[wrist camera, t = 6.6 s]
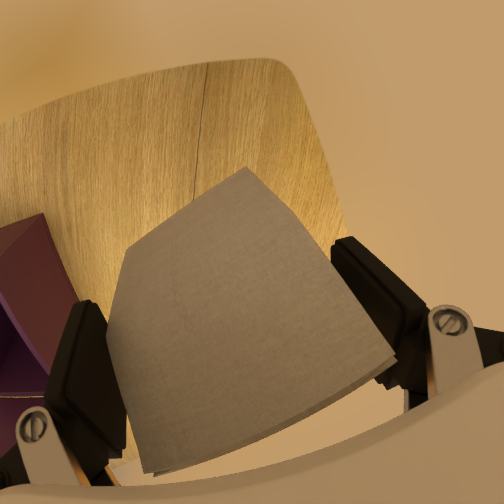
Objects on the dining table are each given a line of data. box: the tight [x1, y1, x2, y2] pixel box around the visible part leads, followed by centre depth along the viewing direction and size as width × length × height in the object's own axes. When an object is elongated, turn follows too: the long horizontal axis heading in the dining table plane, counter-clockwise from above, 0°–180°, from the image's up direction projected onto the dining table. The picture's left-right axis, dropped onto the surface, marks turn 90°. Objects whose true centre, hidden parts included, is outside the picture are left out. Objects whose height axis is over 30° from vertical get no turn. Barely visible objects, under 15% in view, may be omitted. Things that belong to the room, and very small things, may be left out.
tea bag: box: [106, 166, 397, 477], centre depth 10 cm, size 4×7×10 cm, turn 121°
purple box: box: [0, 213, 79, 397], centre depth 25 cm, size 16×14×13 cm
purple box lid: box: [0, 397, 45, 458], centre depth 15 cm, size 16×14×1 cm
